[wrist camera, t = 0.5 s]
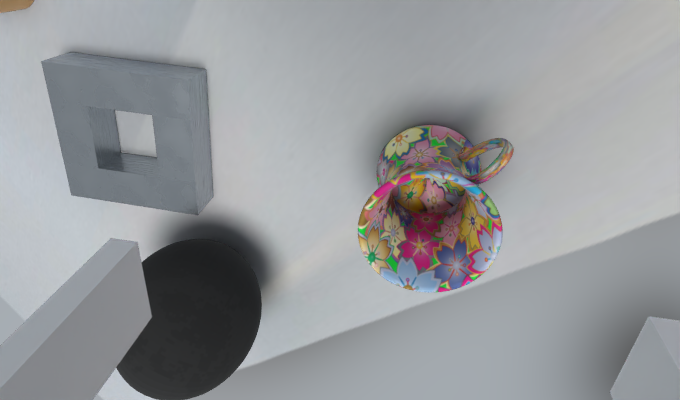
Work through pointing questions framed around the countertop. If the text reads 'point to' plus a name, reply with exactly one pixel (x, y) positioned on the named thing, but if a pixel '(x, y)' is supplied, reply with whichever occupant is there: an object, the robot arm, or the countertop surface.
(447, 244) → the mug
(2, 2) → the orange cylindrical peg
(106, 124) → the grey peg socket
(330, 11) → the countertop surface
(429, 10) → the countertop surface
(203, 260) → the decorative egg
